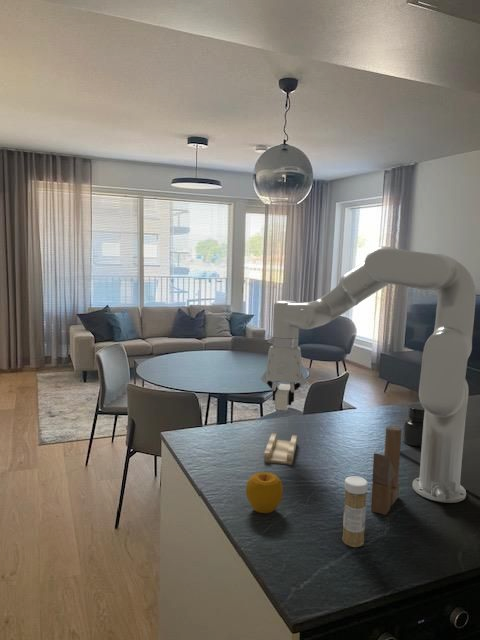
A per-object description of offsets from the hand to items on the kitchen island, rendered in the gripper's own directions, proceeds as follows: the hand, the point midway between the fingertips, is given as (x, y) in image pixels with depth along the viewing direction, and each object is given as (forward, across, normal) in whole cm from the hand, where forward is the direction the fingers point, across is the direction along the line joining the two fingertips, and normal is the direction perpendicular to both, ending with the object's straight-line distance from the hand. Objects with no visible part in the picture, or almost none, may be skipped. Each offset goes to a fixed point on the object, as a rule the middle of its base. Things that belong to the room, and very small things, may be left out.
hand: (283, 402), depth 144 cm
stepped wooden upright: (+16, +28, -25) cm, 41 cm away
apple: (+16, 0, -35) cm, 38 cm away
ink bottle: (+16, +42, +19) cm, 49 cm away
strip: (0, 0, 0) cm, 0 cm away
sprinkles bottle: (+16, +20, -43) cm, 50 cm away
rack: (+15, 0, 0) cm, 15 cm away
